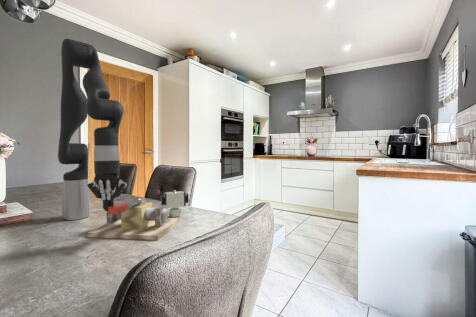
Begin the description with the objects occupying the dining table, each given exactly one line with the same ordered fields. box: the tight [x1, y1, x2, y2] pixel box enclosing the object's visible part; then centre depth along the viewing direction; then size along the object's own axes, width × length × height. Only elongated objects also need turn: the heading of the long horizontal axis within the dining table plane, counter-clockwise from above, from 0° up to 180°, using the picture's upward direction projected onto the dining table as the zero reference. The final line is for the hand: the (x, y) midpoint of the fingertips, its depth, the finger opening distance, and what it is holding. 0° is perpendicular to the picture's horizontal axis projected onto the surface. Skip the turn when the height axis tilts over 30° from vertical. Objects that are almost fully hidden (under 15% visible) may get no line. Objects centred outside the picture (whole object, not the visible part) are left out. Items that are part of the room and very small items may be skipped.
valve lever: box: [108, 197, 142, 214], centre depth 83 cm, size 16×3×2 cm, turn 173°
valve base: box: [87, 201, 181, 241], centre depth 91 cm, size 26×20×10 cm
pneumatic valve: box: [160, 189, 190, 218], centre depth 107 cm, size 6×12×12 cm, turn 111°
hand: (108, 210), depth 80 cm, fingers closed
